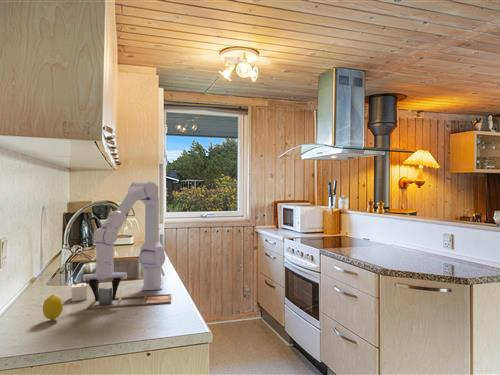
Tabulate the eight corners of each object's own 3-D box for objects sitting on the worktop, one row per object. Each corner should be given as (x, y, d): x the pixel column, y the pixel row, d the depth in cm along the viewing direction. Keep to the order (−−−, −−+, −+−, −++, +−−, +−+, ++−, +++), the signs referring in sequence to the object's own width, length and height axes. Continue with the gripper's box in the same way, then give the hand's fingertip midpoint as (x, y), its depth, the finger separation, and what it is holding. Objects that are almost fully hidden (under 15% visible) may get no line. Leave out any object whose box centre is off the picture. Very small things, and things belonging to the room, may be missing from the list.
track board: (94, 300, 136) (94, 298, 136) (171, 295, 141) (171, 293, 141) (87, 309, 126) (87, 307, 126) (170, 303, 131) (170, 301, 131)
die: (71, 297, 140) (71, 284, 140) (86, 295, 142) (86, 282, 142) (71, 301, 135) (71, 287, 135) (86, 299, 137) (86, 285, 137)
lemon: (40, 324, 112) (40, 298, 112) (45, 318, 118) (45, 293, 118) (60, 322, 114) (60, 296, 114) (64, 316, 119) (64, 291, 119)
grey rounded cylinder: (100, 302, 134) (100, 287, 134) (113, 301, 134) (112, 286, 134) (97, 306, 129) (97, 290, 129) (110, 305, 130) (110, 289, 130)
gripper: (80, 265, 127) (80, 304, 127) (124, 262, 129) (125, 301, 129) (85, 261, 134) (85, 298, 134) (127, 259, 136) (127, 295, 136)
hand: (105, 299), depth 132 cm, fingers open, 5 cm apart
